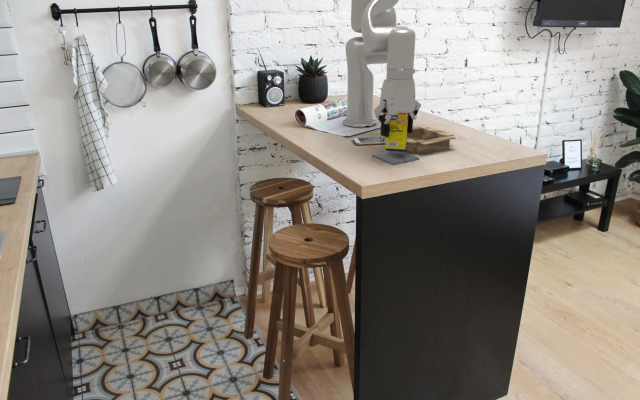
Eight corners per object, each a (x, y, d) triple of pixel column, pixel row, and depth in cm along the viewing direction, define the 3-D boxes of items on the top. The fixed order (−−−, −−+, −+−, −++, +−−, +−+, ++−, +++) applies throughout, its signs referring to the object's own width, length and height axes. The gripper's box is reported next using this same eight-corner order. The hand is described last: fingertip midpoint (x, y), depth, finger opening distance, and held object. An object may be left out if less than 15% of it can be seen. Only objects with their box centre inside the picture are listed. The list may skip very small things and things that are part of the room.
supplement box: (405, 152, 153) (407, 115, 149) (385, 151, 154) (386, 114, 150) (406, 146, 158) (408, 111, 154) (386, 145, 159) (388, 110, 155)
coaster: (372, 156, 159) (372, 154, 158) (397, 151, 164) (397, 149, 163) (392, 165, 151) (393, 163, 151) (419, 159, 156) (419, 157, 155)
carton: (380, 143, 172) (380, 132, 171) (421, 135, 181) (422, 125, 179) (417, 157, 158) (417, 145, 156) (460, 148, 166) (461, 136, 165)
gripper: (414, 70, 155) (410, 127, 162) (367, 75, 147) (365, 135, 153) (431, 73, 149) (427, 133, 156) (383, 78, 141) (381, 141, 147)
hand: (396, 134), depth 154 cm, fingers closed on supplement box, 8 cm apart
